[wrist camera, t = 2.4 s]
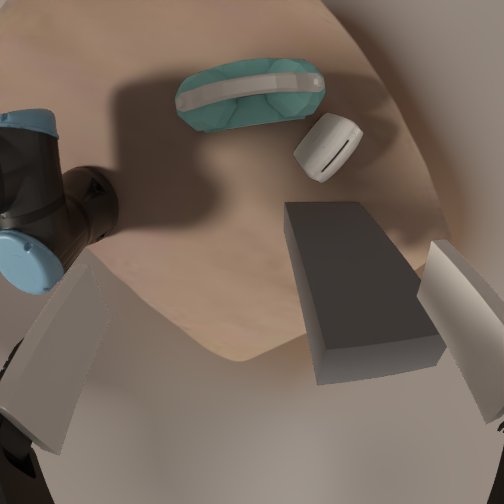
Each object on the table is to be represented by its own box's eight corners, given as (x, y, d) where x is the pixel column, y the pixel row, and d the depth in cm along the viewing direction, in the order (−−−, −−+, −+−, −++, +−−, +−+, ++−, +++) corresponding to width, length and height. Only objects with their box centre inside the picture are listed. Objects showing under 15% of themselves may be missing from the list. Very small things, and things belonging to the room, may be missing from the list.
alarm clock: (201, 133, 46) (173, 162, 29) (190, 79, 41) (154, 73, 24) (307, 118, 45) (345, 137, 27) (299, 62, 40) (334, 46, 23)
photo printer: (326, 107, 44) (350, 114, 33) (345, 124, 45) (373, 136, 34) (288, 154, 48) (300, 174, 37) (308, 169, 49) (325, 193, 39)
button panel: (284, 202, 52) (326, 349, 24) (359, 202, 52) (455, 330, 24) (283, 230, 55) (317, 385, 27) (355, 229, 55) (435, 365, 27)
